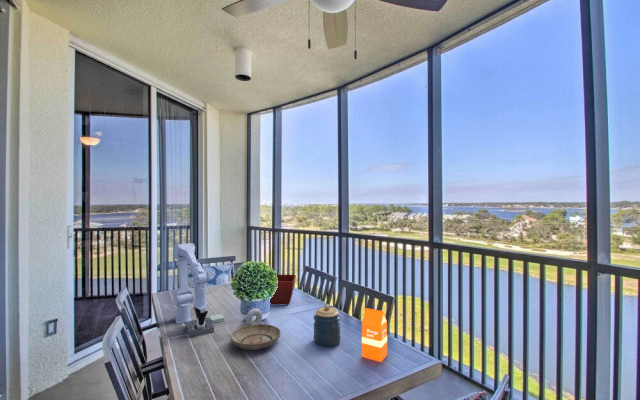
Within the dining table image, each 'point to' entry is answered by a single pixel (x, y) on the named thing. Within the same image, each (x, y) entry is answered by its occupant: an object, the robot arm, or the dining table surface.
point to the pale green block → (216, 318)
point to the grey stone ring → (251, 314)
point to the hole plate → (193, 330)
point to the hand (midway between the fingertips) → (200, 322)
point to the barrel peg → (200, 325)
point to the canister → (326, 327)
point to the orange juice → (374, 335)
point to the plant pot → (284, 289)
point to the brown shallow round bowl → (255, 336)
